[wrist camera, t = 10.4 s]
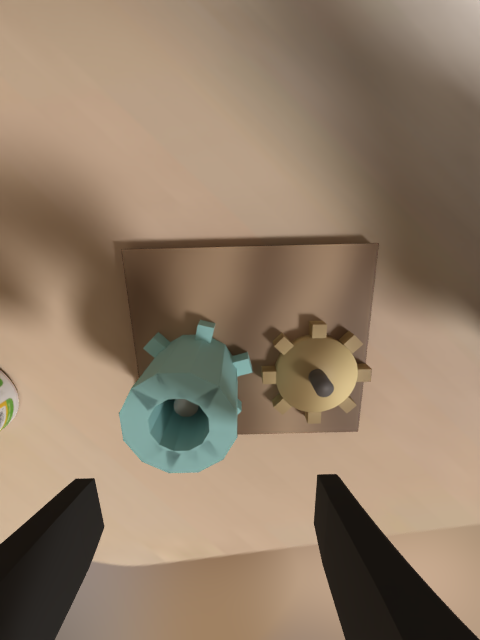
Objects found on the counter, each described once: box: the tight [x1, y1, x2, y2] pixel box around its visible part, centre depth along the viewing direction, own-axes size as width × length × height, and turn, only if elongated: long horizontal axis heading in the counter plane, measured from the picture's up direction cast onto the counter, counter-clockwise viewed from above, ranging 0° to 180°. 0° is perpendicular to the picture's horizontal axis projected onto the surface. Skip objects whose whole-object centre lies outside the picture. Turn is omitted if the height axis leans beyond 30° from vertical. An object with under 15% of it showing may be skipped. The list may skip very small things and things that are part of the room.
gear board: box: [121, 243, 379, 434], centre depth 14 cm, size 14×12×4 cm
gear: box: [119, 320, 252, 473], centre depth 14 cm, size 7×7×5 cm
